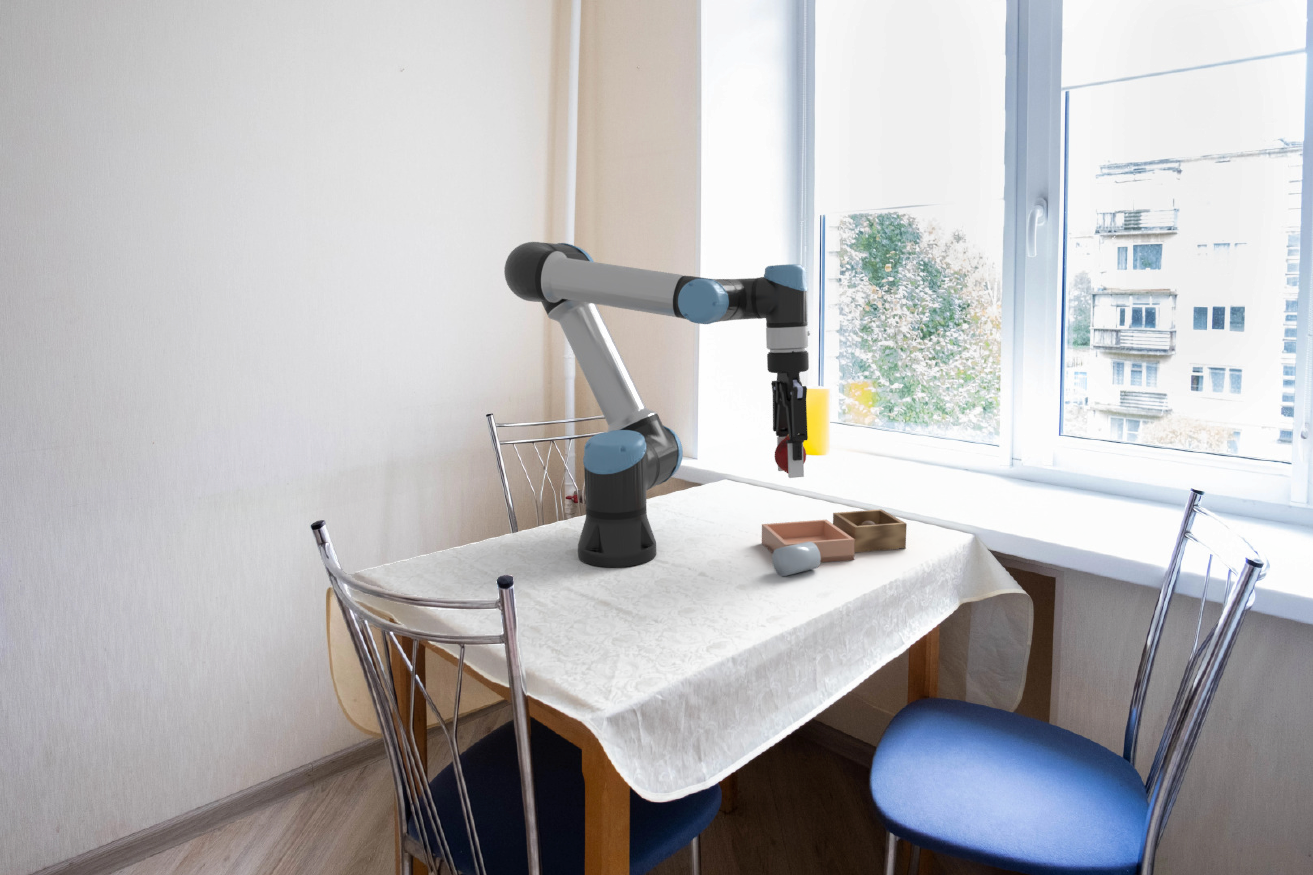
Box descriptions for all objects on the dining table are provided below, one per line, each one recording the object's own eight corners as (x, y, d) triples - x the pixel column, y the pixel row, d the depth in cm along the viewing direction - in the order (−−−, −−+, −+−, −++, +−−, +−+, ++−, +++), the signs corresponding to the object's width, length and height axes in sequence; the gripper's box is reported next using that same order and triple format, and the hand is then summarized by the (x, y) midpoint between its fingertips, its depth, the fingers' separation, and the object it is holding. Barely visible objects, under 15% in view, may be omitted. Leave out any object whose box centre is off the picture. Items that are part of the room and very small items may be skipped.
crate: (854, 552, 157) (855, 527, 156) (832, 536, 167) (833, 512, 167) (905, 548, 159) (906, 523, 158) (880, 532, 169) (881, 509, 168)
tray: (784, 565, 150) (785, 544, 150) (761, 543, 164) (761, 524, 163) (854, 559, 153) (854, 539, 152) (825, 538, 166) (826, 519, 165)
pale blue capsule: (790, 579, 143) (790, 552, 142) (771, 571, 147) (772, 544, 147) (820, 572, 147) (820, 545, 146) (801, 564, 151) (802, 538, 150)
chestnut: (863, 541, 161) (864, 524, 160) (856, 536, 165) (856, 519, 164) (880, 540, 162) (881, 522, 161) (872, 535, 165) (873, 517, 165)
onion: (789, 479, 150) (787, 436, 149) (769, 474, 155) (767, 433, 154) (812, 474, 153) (811, 432, 152) (792, 470, 158) (791, 429, 157)
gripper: (825, 351, 142) (827, 482, 145) (791, 346, 160) (793, 462, 164) (783, 354, 141) (786, 485, 144) (754, 349, 159) (757, 465, 163)
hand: (790, 473), depth 154 cm, fingers closed on onion, 6 cm apart
